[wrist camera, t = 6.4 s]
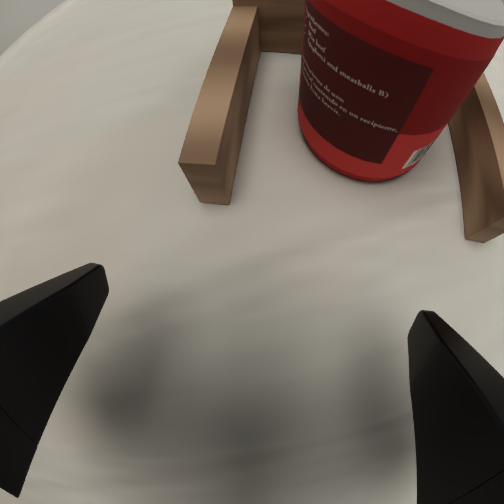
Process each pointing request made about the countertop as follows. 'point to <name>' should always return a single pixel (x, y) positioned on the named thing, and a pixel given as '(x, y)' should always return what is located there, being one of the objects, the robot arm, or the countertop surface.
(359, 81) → the canned food
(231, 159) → the cradle
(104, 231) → the countertop surface
